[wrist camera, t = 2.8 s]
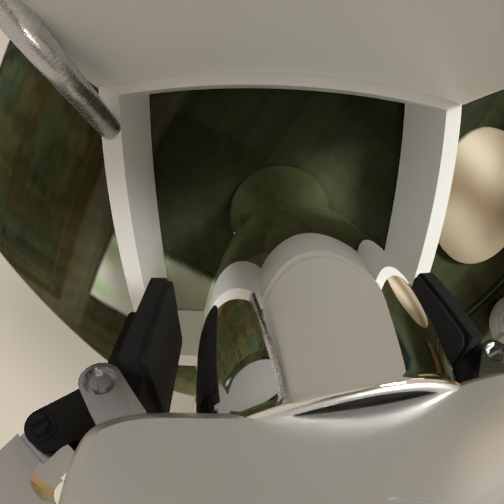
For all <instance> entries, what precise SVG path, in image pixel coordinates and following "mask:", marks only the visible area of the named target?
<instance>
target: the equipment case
mask: <svg viewBox="0 0 504 504" xmlns="http://www.w3.org/2000/svg"><path fill="white" fill-rule="evenodd" d="M20 1H21V2H23V3H24V4H25V5H26V6H28V7H29V8H30V9H31V10H32V11H33V12H34V13H35V14H36V15H37V16H38V17H39V18H40V19H41V20H42V21H43V22H44V23H45V25H46V26H47V27H48V29H49V30H50V31H51V33H52V34H53V35H54V37H55V38H56V39H57V41H58V42H59V43H60V45H61V46H62V47H63V49H64V50H65V51H66V53H67V54H68V55H69V57H70V58H71V59H72V61H73V62H74V63H75V65H76V66H77V67H78V69H79V70H80V71H81V73H82V74H83V75H84V77H85V78H86V79H87V81H89V82H90V83H92V84H93V85H94V86H96V87H99V96H100V97H101V99H102V100H103V101H104V103H105V104H106V105H107V106H108V108H109V109H110V110H111V112H112V113H113V114H114V115H115V117H116V118H117V119H118V121H119V123H120V126H121V131H120V134H119V136H118V137H117V138H115V139H113V140H106V139H104V138H103V137H102V145H103V155H104V164H105V172H106V179H107V186H108V193H109V200H110V206H111V212H112V217H113V223H114V228H115V234H116V239H117V244H118V248H119V253H120V258H121V262H122V267H123V271H124V275H125V279H126V283H127V287H128V291H129V295H130V299H131V303H132V307H133V310H134V312H136V311H137V308H138V306H139V304H140V301H141V299H142V297H143V295H144V292H145V290H146V288H147V286H148V283H149V281H150V279H151V278H167V272H166V265H165V259H164V252H163V245H162V238H161V231H160V223H159V215H158V206H157V197H156V188H155V177H154V166H153V154H152V140H151V124H150V102H149V94H155V93H164V92H175V91H187V90H202V89H225V88H271V89H295V90H310V91H322V92H332V93H341V94H350V95H357V96H364V97H371V98H377V99H383V100H389V101H395V102H400V103H405V112H404V125H403V136H402V146H401V155H400V163H399V170H398V178H397V184H396V191H395V197H394V203H393V209H392V215H391V220H390V225H389V230H388V235H387V240H386V245H385V250H384V252H385V253H386V254H387V255H388V256H389V258H390V259H391V260H392V261H393V262H394V264H395V265H396V266H397V267H398V268H399V270H400V271H401V272H402V273H403V274H404V276H405V277H406V279H407V280H408V282H409V283H410V285H411V286H412V284H413V281H414V279H415V277H417V276H418V274H420V273H430V270H431V266H432V263H433V260H434V256H435V253H436V249H437V246H438V242H439V238H440V234H441V231H442V227H443V223H444V218H445V214H446V210H447V205H448V200H449V196H450V190H451V185H452V180H453V174H454V168H455V162H456V155H457V148H458V140H459V131H460V121H461V108H462V104H466V103H469V102H471V101H474V100H476V99H479V98H481V97H484V96H487V95H489V94H492V93H494V92H497V91H500V90H502V89H504V0H20ZM167 280H168V278H167ZM177 311H178V317H179V322H180V328H181V333H182V348H181V353H180V358H179V363H178V365H187V366H196V361H197V352H198V343H199V334H200V327H201V323H202V318H203V313H204V311H189V310H177Z"/></svg>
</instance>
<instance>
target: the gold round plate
mask: <svg viewBox="0 0 504 504" xmlns="http://www.w3.org/2000/svg"><path fill="white" fill-rule="evenodd" d="M438 243H439V245H440V246H441V248H442V249H443V250H444V251H445V252H446V253H447V254H448V255H449V256H450V257H451V258H453V259H454V260H456V261H458V262H461V263H465V264H473V263H479V262H482V261H485V260H487V259H489V258H491V257H492V256H494V255H495V254H496V253H498V252H499V251H500V250H501V249H502V248H503V247H504V131H502V130H500V129H496V128H492V127H479V128H475V129H473V130H470V131H469V132H467V133H465V134H464V135H463V136H461V137H460V138H459V140H458V148H457V155H456V162H455V168H454V174H453V180H452V185H451V190H450V196H449V200H448V205H447V210H446V214H445V218H444V223H443V227H442V231H441V234H440V238H439V242H438Z"/></svg>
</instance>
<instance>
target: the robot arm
mask: <svg viewBox="0 0 504 504" xmlns="http://www.w3.org/2000/svg"><path fill="white" fill-rule="evenodd" d="M412 288H413V289H414V291H415V292H416V294H417V296H418V297H419V299H420V300H421V302H422V303H423V305H424V307H425V309H426V311H427V312H428V314H429V316H430V318H431V320H432V322H433V324H434V326H435V327H436V329H437V331H438V333H439V335H440V337H441V339H442V342H443V344H444V346H445V348H446V350H447V353H448V355H449V357H450V359H451V362H452V364H453V366H454V368H455V370H456V373H457V375H458V377H459V379H460V381H461V385H462V386H461V388H460V389H459V390H456V391H453V392H449V393H436V392H420V393H416V394H411V395H407V396H402V397H397V398H391V399H386V400H381V401H375V402H369V403H362V404H356V405H349V406H341V407H333V408H324V409H316V410H312V411H309V412H305V413H301V414H298V415H294V416H291V417H288V418H283V419H277V420H255V419H253V418H247V417H243V416H239V415H234V414H227V413H169V411H170V405H171V400H172V394H173V389H174V384H175V378H176V373H177V368H178V363H179V358H180V353H181V348H182V333H181V328H180V322H179V317H178V311H177V305H176V299H175V293H174V287H173V283H172V282H168V280H167V278H151V279H150V281H149V283H148V286H147V288H146V290H145V292H144V295H143V297H142V299H141V301H140V304H139V306H138V308H137V311H136V312H131V313H129V315H128V316H127V319H126V321H125V323H124V326H123V328H122V330H121V332H120V335H119V337H118V339H117V342H116V344H115V347H114V349H113V351H112V354H111V356H110V359H109V361H108V363H97V364H94V365H92V366H90V367H88V368H86V370H85V371H83V372H82V374H81V375H80V377H79V382H78V385H79V389H78V390H76V391H74V392H72V393H70V394H68V395H66V396H64V397H62V398H60V399H58V400H56V401H54V402H53V403H50V404H48V405H46V406H45V407H42V408H40V409H39V410H37V411H35V412H33V413H32V414H31V415H30V416H29V417H28V418H27V420H26V422H25V426H24V432H25V433H24V434H23V435H22V436H19V435H18V434H17V435H16V436H15V437H14V438H13V439H12V440H11V441H10V442H8V443H7V444H6V445H5V446H4V447H3V448H2V449H1V450H0V504H56V503H55V500H54V490H55V488H56V487H57V485H58V484H59V483H60V482H61V481H62V479H61V477H62V476H63V475H64V474H65V473H66V472H67V474H66V477H65V480H64V484H63V488H62V492H61V496H60V500H59V504H504V344H503V343H501V342H499V341H497V340H487V341H485V342H484V343H483V344H482V343H481V340H482V338H483V334H482V333H481V331H480V330H479V329H478V328H477V326H476V325H475V324H474V322H473V321H472V320H471V318H470V317H469V316H468V315H467V313H466V312H465V311H464V309H463V308H462V307H461V306H460V304H459V303H458V302H457V301H456V300H455V298H454V297H453V296H452V295H451V294H450V292H449V291H448V290H447V289H446V288H445V286H444V285H443V284H442V283H441V282H440V281H439V279H438V278H437V277H436V276H435V275H434V274H433V273H420V274H418V276H417V277H415V279H414V281H413V284H412Z"/></svg>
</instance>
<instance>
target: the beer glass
mask: <svg viewBox="0 0 504 504" xmlns="http://www.w3.org/2000/svg"><path fill="white" fill-rule="evenodd" d="M230 224H231V227H232V231H233V233H234V236H233V238H232V240H231V242H230V244H229V246H228V248H227V250H226V252H225V254H224V256H223V258H222V260H221V262H220V264H219V266H218V268H217V271H216V274H215V276H214V279H213V281H212V284H211V287H210V289H209V292H208V296H207V300H206V304H205V309H204V313H203V318H202V323H201V327H200V334H199V343H198V352H197V361H196V380H195V413H227V414H234V415H239V416H243V417H247V418H253V419H255V420H277V419H283V418H288V417H291V416H294V415H298V414H301V413H305V412H309V411H312V410H316V409H324V408H333V407H341V406H349V405H356V404H362V403H369V402H375V401H381V400H386V399H391V398H397V397H402V396H407V395H411V394H416V393H420V392H436V393H449V392H453V391H456V390H459V389H460V388H461V386H462V385H461V381H460V379H459V377H458V375H457V373H456V370H455V368H454V366H453V364H452V362H451V359H450V357H449V355H448V353H447V350H446V348H445V346H444V344H443V342H442V339H441V337H440V335H439V333H438V331H437V329H436V327H435V326H434V324H433V322H432V320H431V318H430V316H429V314H428V312H427V311H426V309H425V307H424V305H423V303H422V302H421V300H420V299H419V297H418V296H417V294H416V292H415V291H414V289H413V288H412V286H411V285H410V283H409V282H408V280H407V279H406V277H405V276H404V274H403V273H402V272H401V271H400V270H399V268H398V267H397V266H396V265H395V264H394V262H393V261H392V260H391V259H390V258H389V256H388V255H387V254H386V253H385V252H384V250H383V249H382V248H381V247H380V246H378V245H377V244H376V243H375V242H374V241H373V240H372V239H370V238H369V237H368V236H367V235H366V234H365V233H363V232H362V231H361V230H360V229H358V228H357V227H356V226H354V225H353V224H351V223H350V222H348V221H347V220H346V219H344V218H343V217H341V216H340V215H338V214H337V213H335V212H333V211H332V210H330V207H329V202H328V199H327V196H326V193H325V191H324V189H323V188H322V186H321V185H320V183H319V182H318V181H317V180H316V179H315V178H314V177H312V176H311V175H310V174H308V173H307V172H305V171H303V170H300V169H298V168H295V167H290V166H272V167H267V168H264V169H261V170H259V171H257V172H255V173H253V174H252V175H250V176H249V177H248V178H246V179H245V180H244V181H243V182H242V183H241V184H240V186H239V187H238V188H237V190H236V192H235V194H234V196H233V198H232V201H231V205H230Z"/></svg>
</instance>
